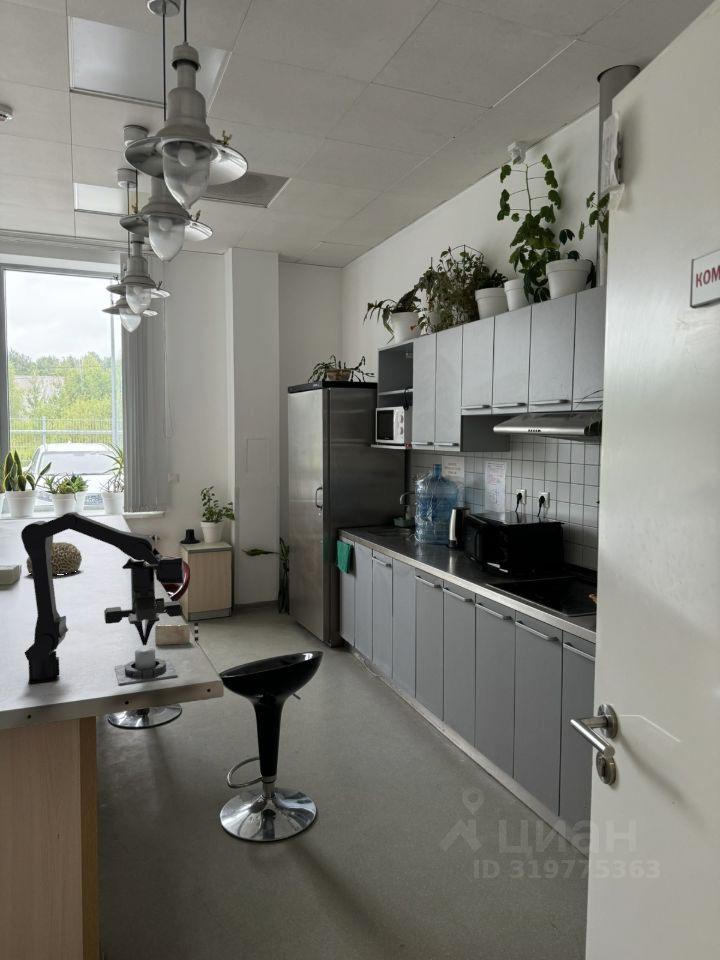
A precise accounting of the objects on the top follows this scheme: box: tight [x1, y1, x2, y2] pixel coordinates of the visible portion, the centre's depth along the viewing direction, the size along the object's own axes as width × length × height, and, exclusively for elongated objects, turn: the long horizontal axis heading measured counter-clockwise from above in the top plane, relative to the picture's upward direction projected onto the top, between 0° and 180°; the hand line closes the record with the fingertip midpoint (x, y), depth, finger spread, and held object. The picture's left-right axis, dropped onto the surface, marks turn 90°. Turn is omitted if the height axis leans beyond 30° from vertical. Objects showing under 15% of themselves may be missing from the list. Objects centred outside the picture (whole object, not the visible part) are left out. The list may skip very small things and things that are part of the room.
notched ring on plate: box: [114, 657, 179, 686], centre depth 172 cm, size 14×14×2 cm
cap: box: [134, 647, 156, 669], centre depth 172 cm, size 5×5×5 cm
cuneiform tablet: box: [154, 621, 199, 646], centre depth 197 cm, size 6×4×12 cm
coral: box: [25, 541, 83, 575], centre depth 303 cm, size 23×18×15 cm
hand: (144, 644), depth 172 cm, fingers closed
